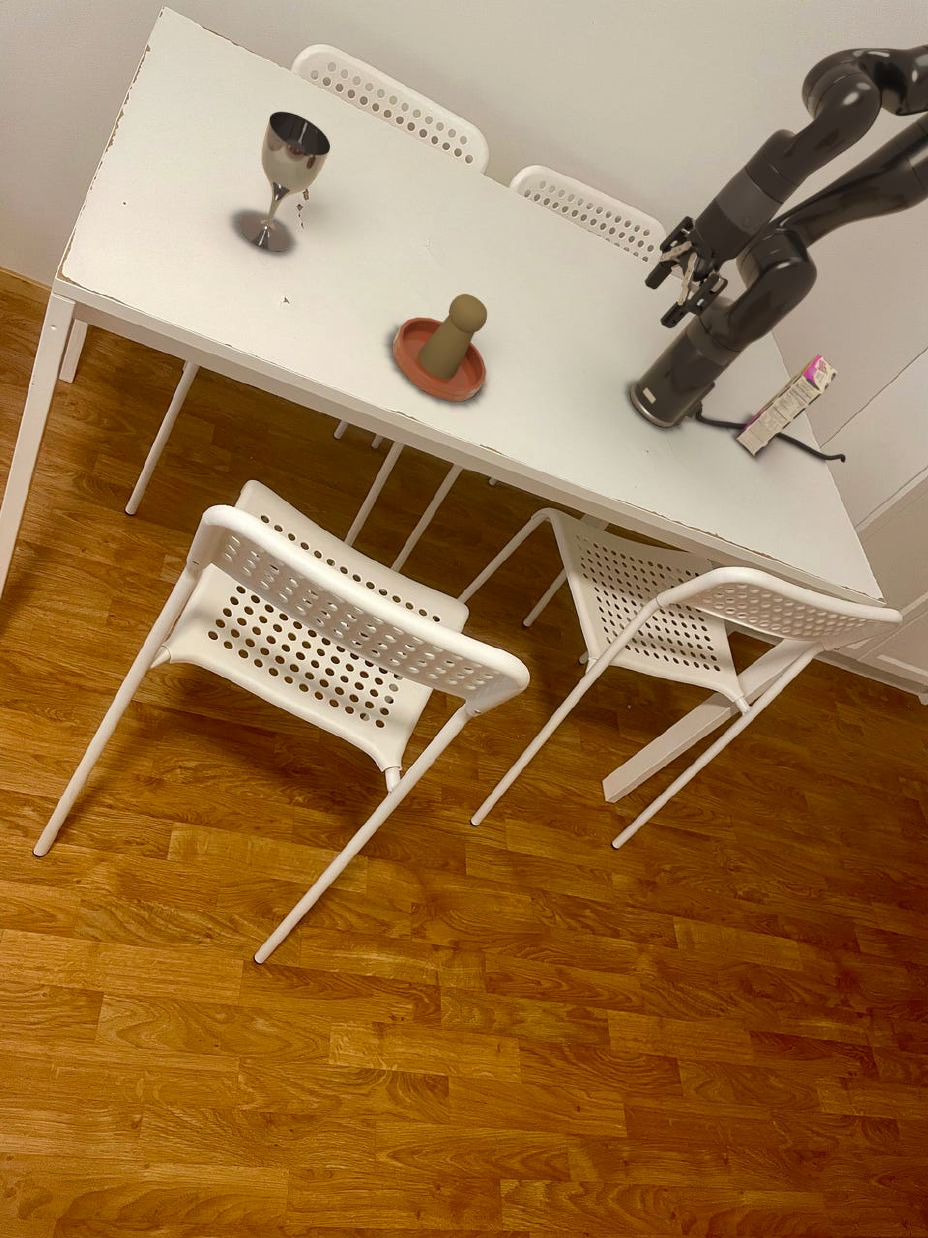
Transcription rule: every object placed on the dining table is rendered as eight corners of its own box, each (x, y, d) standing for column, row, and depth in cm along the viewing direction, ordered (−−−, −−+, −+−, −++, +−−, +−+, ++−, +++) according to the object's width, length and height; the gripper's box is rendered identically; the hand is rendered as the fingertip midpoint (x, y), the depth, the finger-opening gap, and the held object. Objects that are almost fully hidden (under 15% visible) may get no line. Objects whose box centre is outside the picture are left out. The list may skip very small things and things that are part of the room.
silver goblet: (303, 246, 120) (342, 151, 109) (265, 258, 115) (301, 158, 104) (264, 208, 120) (299, 108, 109) (223, 218, 115) (255, 114, 104)
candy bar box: (751, 416, 159) (818, 352, 147) (770, 434, 159) (839, 372, 147) (733, 438, 151) (802, 372, 139) (753, 457, 151) (825, 393, 139)
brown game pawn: (450, 386, 119) (488, 326, 111) (413, 362, 118) (449, 301, 110) (460, 363, 123) (498, 304, 115) (424, 340, 122) (460, 279, 114)
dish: (469, 343, 127) (476, 332, 126) (485, 410, 121) (493, 400, 119) (387, 318, 121) (393, 306, 119) (399, 387, 114) (406, 376, 113)
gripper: (775, 257, 111) (688, 347, 123) (741, 192, 118) (662, 282, 130) (736, 235, 107) (650, 329, 119) (703, 169, 115) (625, 264, 126)
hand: (656, 305), depth 124 cm, fingers open, 8 cm apart
